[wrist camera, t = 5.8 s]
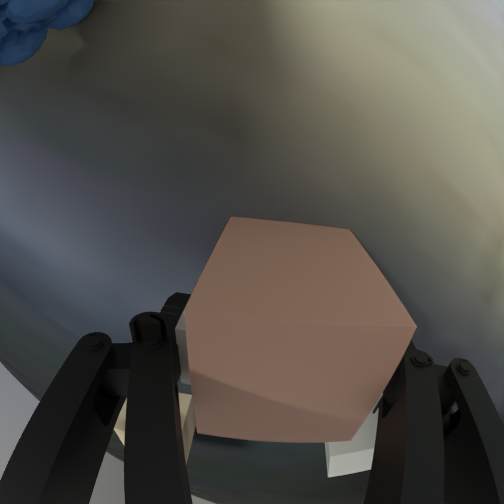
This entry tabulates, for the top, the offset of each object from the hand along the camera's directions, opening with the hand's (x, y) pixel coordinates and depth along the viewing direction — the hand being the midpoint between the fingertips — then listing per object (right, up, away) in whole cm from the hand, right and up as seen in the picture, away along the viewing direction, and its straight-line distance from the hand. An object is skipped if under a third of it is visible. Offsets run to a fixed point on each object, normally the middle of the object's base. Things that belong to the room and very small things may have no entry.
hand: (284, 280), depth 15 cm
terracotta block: (0, 0, 0) cm, 0 cm away
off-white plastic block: (+7, -12, +5) cm, 15 cm away
